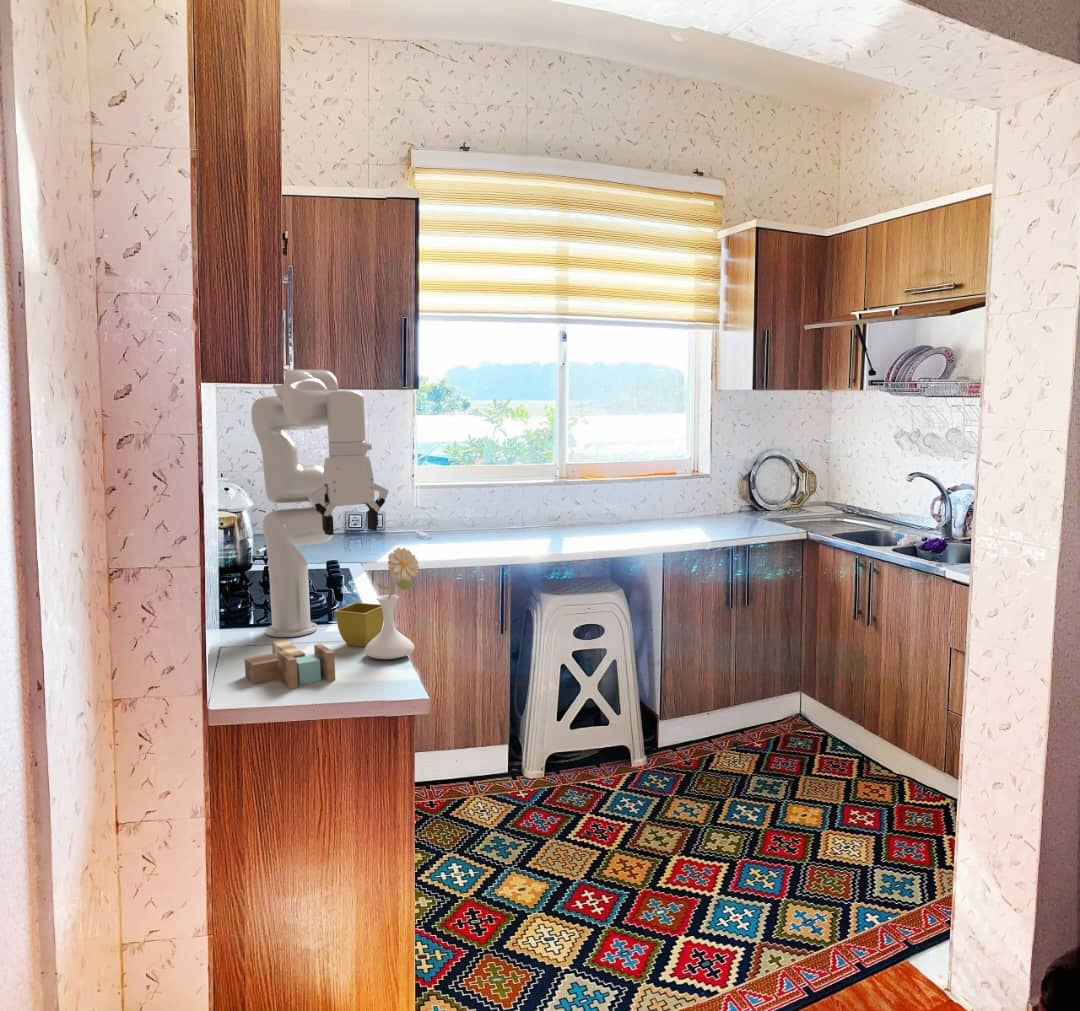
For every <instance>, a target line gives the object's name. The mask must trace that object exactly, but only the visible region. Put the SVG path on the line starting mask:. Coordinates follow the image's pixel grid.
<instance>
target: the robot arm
mask: <svg viewBox="0 0 1080 1011" xmlns="http://www.w3.org/2000/svg"><path fill="white" fill-rule="evenodd" d="M284 372H285V381H284V384H283V385H282V386H274V387H273V388H274V392H275V394H276V395H268V396H263V397H260V398H257V399H255V401H254V402H253V403H252V405H251V412H250V413H251V415H250V417H251V424H252V428H253V431H254V434H255V436H256V438H257V441H258V443H259V446H260V450H261V453H262V467H263V478H264V487H265V492H266V494H265V495H266V497H267V499H268V500H269V502H271V503H273V504H282V505H283V504H296V503H309V504H310V505H311V506H309V507H294V508H293V507H292V508H282V509H281V508H280V509H276V510H273V511H271V512H269V513H267V514H265V517H264V518H263V521H262V533H263V536H264V541H265V545H266V552H267V562H268V563H267V564H268V575H269V576H268V577H269V593H270V594H269V595H270V610H271V625H269V626H267V627H266V628H265V634H266V635H267V636H269V637H275V638H294V637H300V636H301V637H302V636H305V635H306V636H307V635H309V634H312V633H314V632H316V631H317V630H318V624H317V623H315V622H312V621H311V608H310V607H311V606H310V604H311V603H310V584H309V565H308V561H307V559H306V557H305V556H304V555H303V554H302V553H301V551H300V550H298V548H297V547H300V546H306V545H314V544H322V543H327V542H329V541H330V540H331V539H332V538H333V536H334V534H335V532H334V529H335V528H334V526H335V525H334V510H335V509H336V507H342V506H345V507H346V506H356V505H364V506H366V507H367V508H368V510H367V512H366V515H367V516H366V519H367V520H366V521H367V522H366V523H367V529H368V530H370V531H374V532H376V531H377V530H378V529H377V528H378V525H379V514H378V513H379V512H380V509H381V508H382V507H383V505H384V504H385V502H386V499H387V496H388V494H389V489H387V488H385V487H383V486H381V485H378V484H376V483H375V481H374V474H373V467H372V462H371V460H370V456H367V454H368V451H372V449H373V447H372V444H371V443H367V441H366V422H365V420H366V419H365V400H364V399H365V398H364V396H363V393H362V392H361V391H359V390H339V383H338V381H337V378H336V376H335V375H334V374H333V373H332V372H330V371H328V370H326V369H289V370H285V371H284ZM322 427H327V438H328V439H327V440H328V456H329V457H325V458H324V463H323V466H321V465H318V464H299V458H298V449H297V445H296V443H295V442H294V441H293V440H292V438H291V437H290V436H289V435H288V434H287V432H285V431H297V430H299V431H301V430H303V431H305V430H317V429H320V428H322ZM376 493H378V497H377V498H376V499H375V496H376V495H375V494H376Z"/></svg>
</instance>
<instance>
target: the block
mask: <svg viewBox="0 0 1080 1011" xmlns="http://www.w3.org/2000/svg"><path fill="white" fill-rule="evenodd" d="M296 661H297V680H298V685H305V684H308V683H310V684H311V683H313V682H314V683H315V682H320V681H322V676H321V670H320V660H319V659H318V658H316V657H315V655H314V654H312V655H311V654H310V655H305V656H304V657H299V658H296ZM319 680H320V681H319Z"/></svg>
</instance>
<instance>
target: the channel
mask: <svg viewBox="0 0 1080 1011" xmlns="http://www.w3.org/2000/svg"><path fill="white" fill-rule="evenodd" d="M313 647H314V650H313V651H314V656H315V657H316V658H318V659H319V660H320V670H321V678H323V679H325V680H326V681H327V680H328V681H327V682H331V680H333V681H336V662H335V660H336V659H335V652H334V651H333V650H331V649H330V648H329V647H326V646H325V645H324V644H322V643H318V644H314V645H313ZM277 658H278V677H279V679H278V680H279V681H280V682H282V683H283V684H284V685H285V686H286V687H287V688H289V689H292V690H293V689H297V688H299V683H298V680H297V661H296V658H294V657H293V656H292V655H290V654H289V653H287V652H286V651H285V650H282V651H277Z"/></svg>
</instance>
